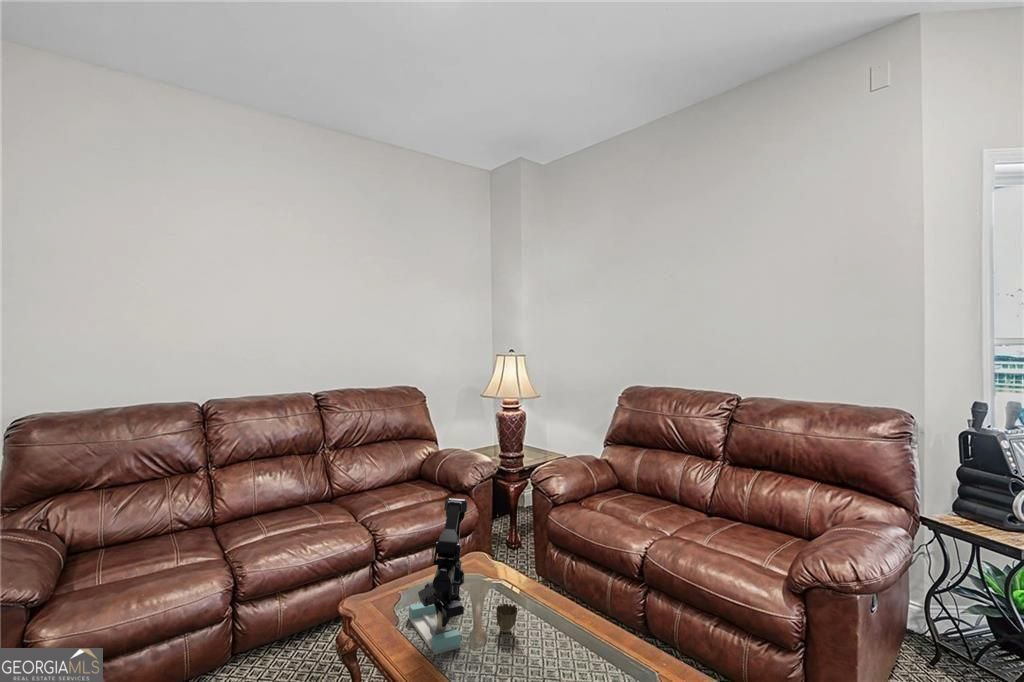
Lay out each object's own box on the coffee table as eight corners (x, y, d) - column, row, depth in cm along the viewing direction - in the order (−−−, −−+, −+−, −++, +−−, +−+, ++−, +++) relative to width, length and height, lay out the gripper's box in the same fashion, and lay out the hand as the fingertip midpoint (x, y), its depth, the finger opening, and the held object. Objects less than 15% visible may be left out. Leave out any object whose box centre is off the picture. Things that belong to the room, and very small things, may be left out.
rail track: (431, 612, 191) (432, 600, 191) (460, 647, 171) (461, 634, 171) (408, 618, 186) (409, 605, 186) (434, 654, 166) (435, 640, 166)
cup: (494, 624, 186) (496, 602, 186) (514, 625, 187) (516, 603, 187) (495, 637, 179) (497, 613, 179) (516, 637, 179) (518, 614, 179)
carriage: (446, 631, 177) (447, 607, 177) (451, 638, 173) (453, 614, 173) (429, 635, 174) (431, 611, 174) (434, 642, 170) (436, 618, 170)
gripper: (411, 569, 177) (408, 615, 177) (434, 595, 161) (430, 645, 161) (442, 564, 183) (438, 608, 183) (466, 588, 167) (462, 637, 167)
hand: (441, 624), depth 174 cm, fingers closed on carriage, 3 cm apart
